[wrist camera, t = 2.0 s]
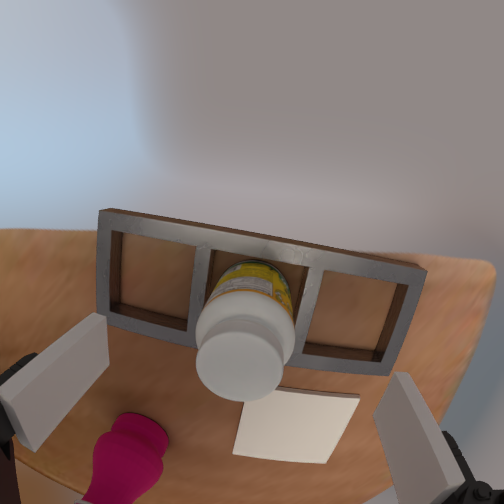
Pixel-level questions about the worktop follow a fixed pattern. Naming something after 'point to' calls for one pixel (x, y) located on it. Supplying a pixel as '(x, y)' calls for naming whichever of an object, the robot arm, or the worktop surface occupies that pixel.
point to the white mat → (294, 425)
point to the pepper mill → (126, 461)
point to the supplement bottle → (245, 332)
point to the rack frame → (261, 247)
